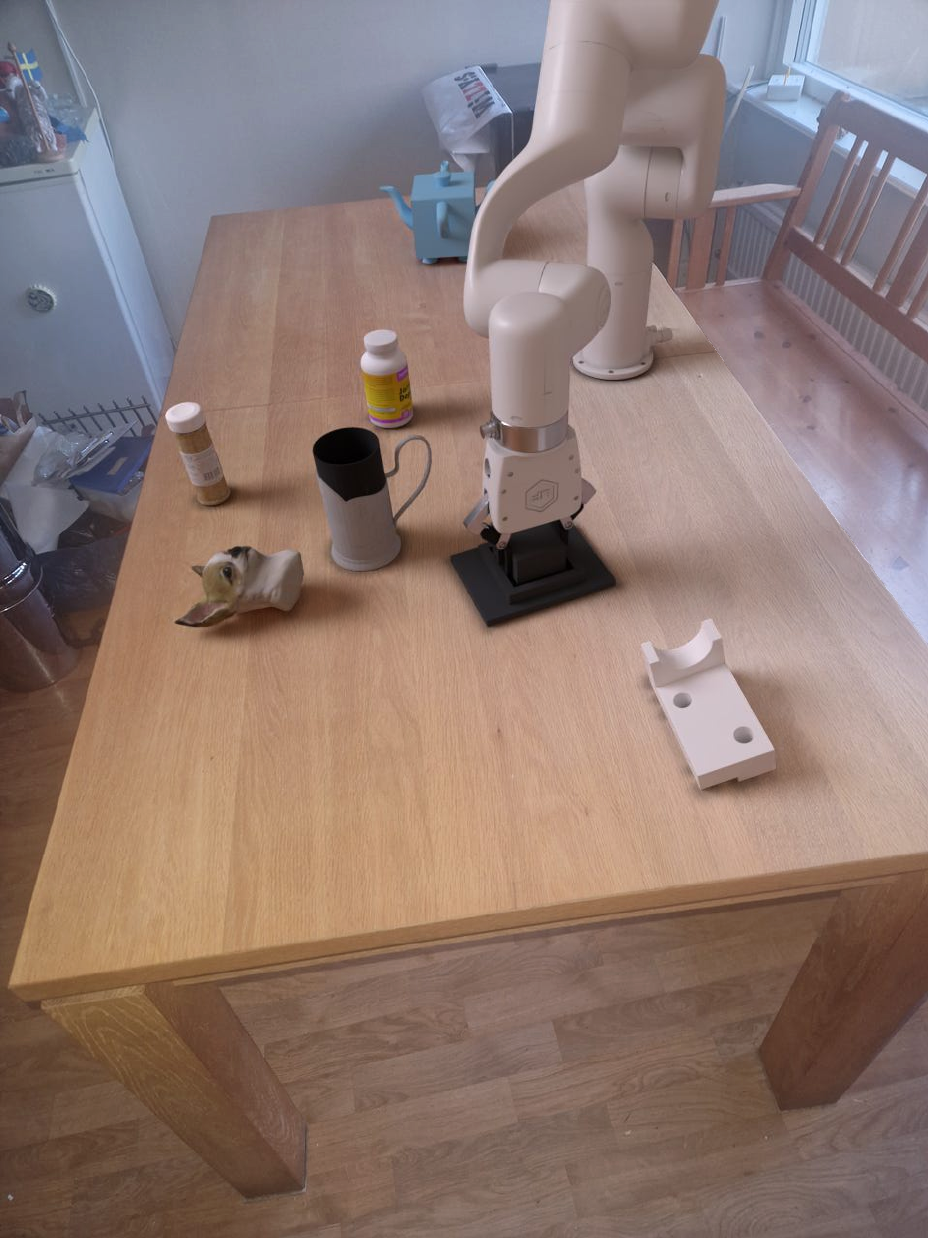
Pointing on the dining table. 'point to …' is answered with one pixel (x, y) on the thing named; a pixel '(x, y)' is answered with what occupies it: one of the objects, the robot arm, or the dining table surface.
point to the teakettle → (440, 213)
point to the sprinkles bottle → (198, 452)
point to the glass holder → (360, 497)
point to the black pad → (536, 553)
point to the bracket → (708, 710)
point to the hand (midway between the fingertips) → (530, 557)
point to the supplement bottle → (386, 380)
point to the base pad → (511, 600)
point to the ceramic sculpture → (245, 584)
